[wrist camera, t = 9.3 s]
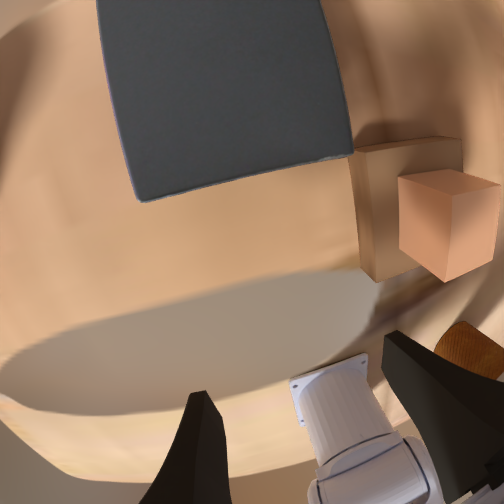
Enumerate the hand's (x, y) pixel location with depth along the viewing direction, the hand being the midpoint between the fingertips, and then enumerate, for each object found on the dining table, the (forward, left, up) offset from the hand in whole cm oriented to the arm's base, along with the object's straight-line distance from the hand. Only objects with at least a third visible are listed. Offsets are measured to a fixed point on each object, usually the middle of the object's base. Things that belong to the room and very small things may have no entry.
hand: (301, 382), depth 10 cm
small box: (+13, 0, -11) cm, 17 cm away
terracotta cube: (+2, -12, -8) cm, 15 cm away
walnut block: (+2, -12, -11) cm, 16 cm away
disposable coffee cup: (-18, -21, -11) cm, 30 cm away
